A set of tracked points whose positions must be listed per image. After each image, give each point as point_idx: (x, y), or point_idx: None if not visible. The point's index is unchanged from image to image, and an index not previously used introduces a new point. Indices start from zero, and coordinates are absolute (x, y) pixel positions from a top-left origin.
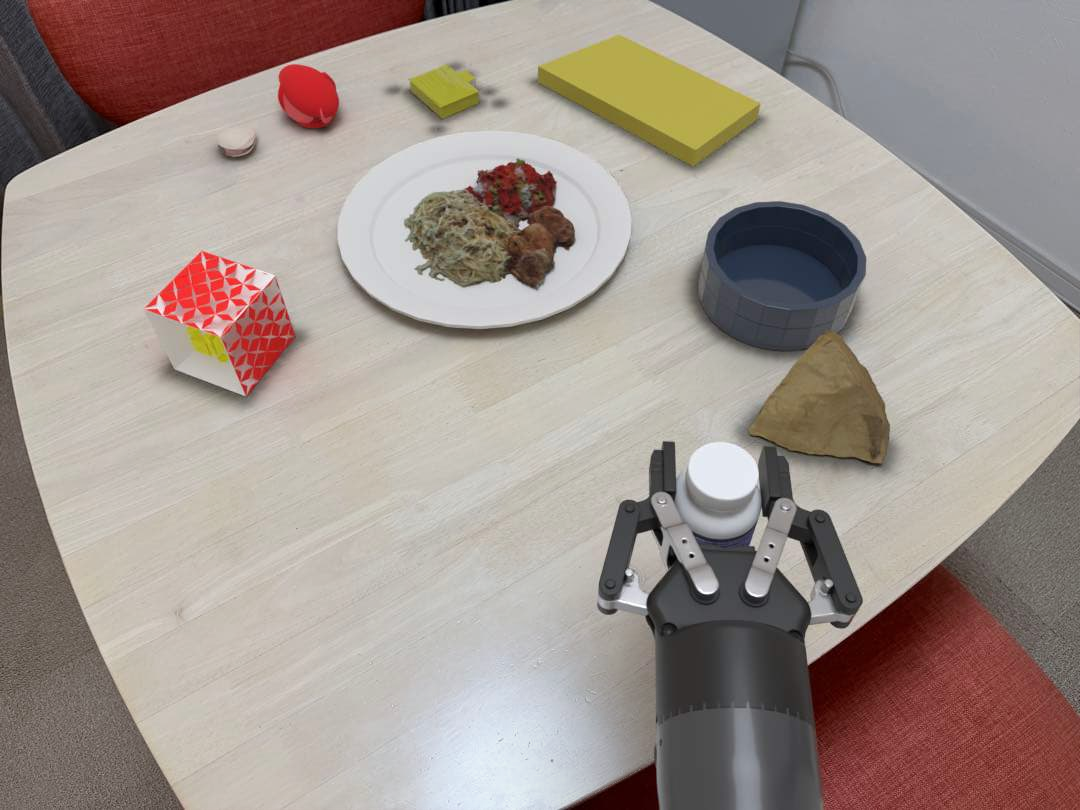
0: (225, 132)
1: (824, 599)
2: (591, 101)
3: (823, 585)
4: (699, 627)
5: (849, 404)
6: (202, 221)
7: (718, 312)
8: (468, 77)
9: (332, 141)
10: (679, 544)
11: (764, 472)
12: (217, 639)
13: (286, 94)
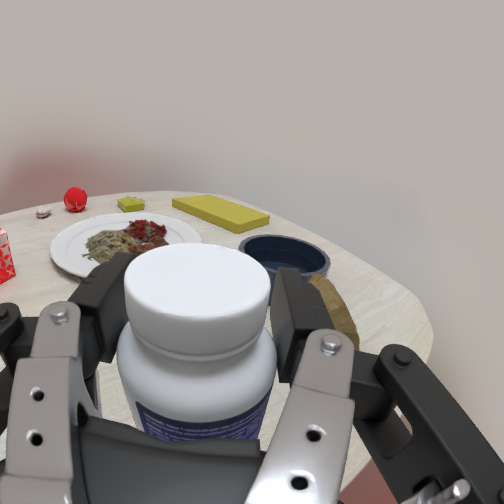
0: (40, 207)
1: None
2: (192, 210)
3: (449, 498)
4: None
5: (336, 324)
6: (15, 234)
7: None
8: (141, 200)
9: (77, 215)
10: (21, 398)
11: (280, 302)
12: None
13: (66, 196)
